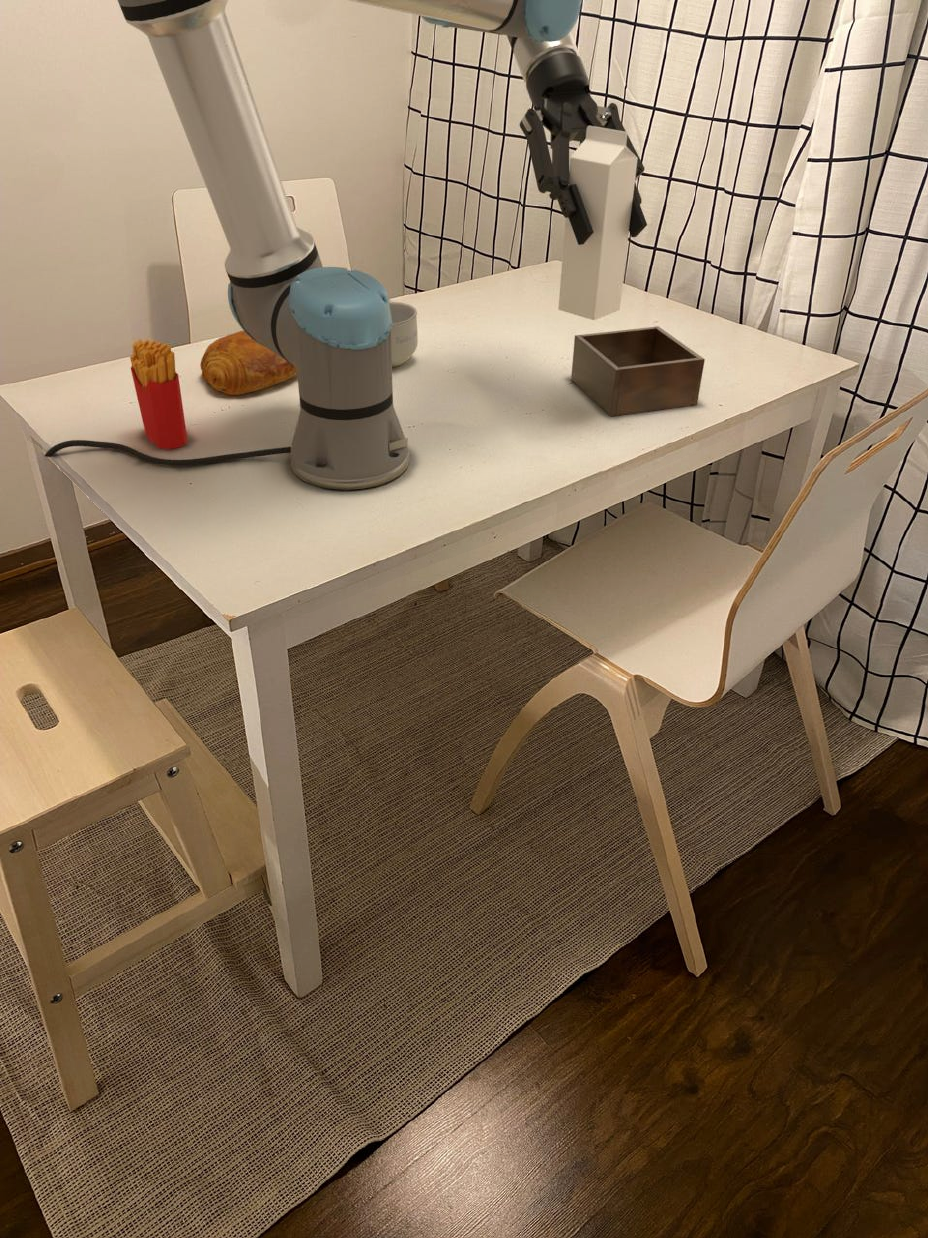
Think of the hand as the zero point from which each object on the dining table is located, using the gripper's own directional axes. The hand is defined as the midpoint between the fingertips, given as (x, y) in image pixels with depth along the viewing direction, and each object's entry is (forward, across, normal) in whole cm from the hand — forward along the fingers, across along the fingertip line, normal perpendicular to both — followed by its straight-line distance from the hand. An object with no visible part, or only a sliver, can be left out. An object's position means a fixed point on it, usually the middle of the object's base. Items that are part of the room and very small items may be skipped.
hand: (613, 234), depth 120 cm
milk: (+5, 0, -10) cm, 11 cm away
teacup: (-7, +15, -44) cm, 47 cm away
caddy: (+13, -12, -23) cm, 29 cm away
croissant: (-8, +37, -46) cm, 59 cm away
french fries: (+3, +54, -35) cm, 64 cm away
